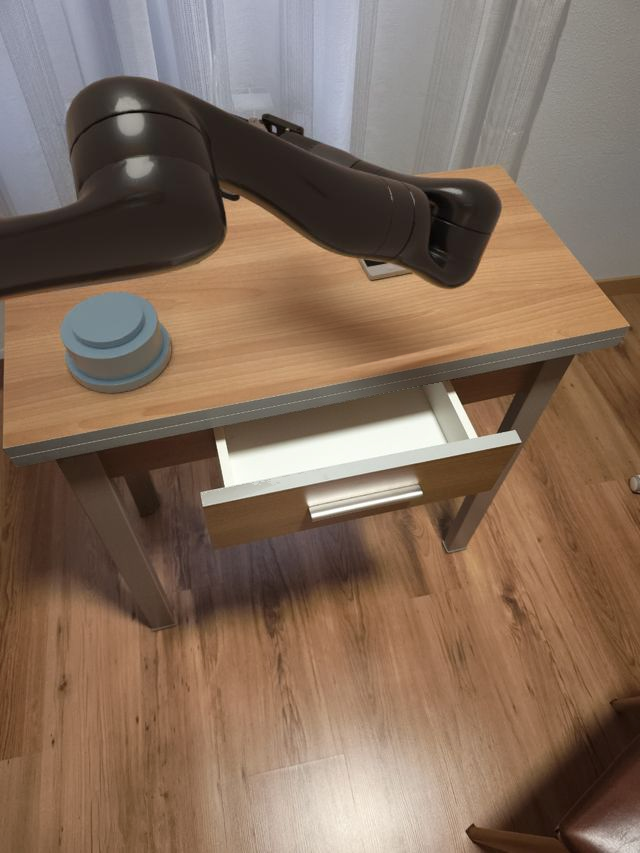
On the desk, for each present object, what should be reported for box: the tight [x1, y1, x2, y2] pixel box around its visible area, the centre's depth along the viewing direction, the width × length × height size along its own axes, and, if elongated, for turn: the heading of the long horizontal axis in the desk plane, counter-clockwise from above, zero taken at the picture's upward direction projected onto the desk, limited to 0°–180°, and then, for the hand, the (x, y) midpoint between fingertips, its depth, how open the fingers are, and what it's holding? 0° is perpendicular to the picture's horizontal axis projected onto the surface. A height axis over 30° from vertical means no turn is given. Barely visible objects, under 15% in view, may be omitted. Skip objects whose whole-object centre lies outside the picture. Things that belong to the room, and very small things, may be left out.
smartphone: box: [358, 259, 412, 281], centre depth 88 cm, size 7×15×1 cm, turn 18°
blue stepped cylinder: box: [59, 291, 172, 394], centre depth 71 cm, size 13×13×7 cm
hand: (199, 135), depth 66 cm, fingers open, 8 cm apart
